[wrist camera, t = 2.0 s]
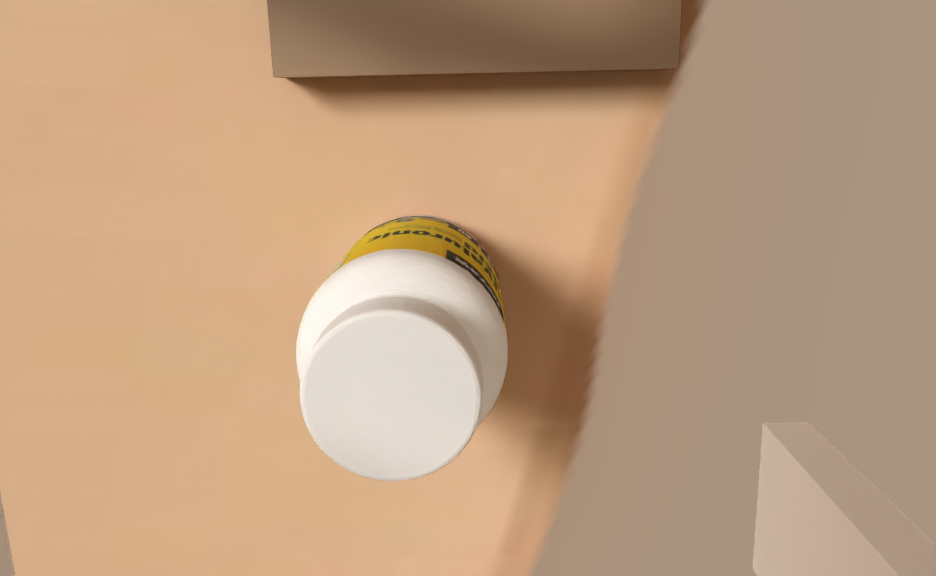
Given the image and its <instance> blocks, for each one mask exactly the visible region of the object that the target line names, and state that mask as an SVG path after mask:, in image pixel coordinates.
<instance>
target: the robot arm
mask: <svg viewBox="0 0 936 576" xmlns="http://www.w3.org/2000/svg"><path fill="white" fill-rule="evenodd" d="M757 497H758V498H757V510H756V524H755V538H754V552H753V566H752V568H753V570H754V572H755V574H756V575H757V576H936V545H935V544H934V543H933V542H932V541H931V540H930V539H929V538H928V537H927V536H926V535H925V534H924V533H923V532H922V531H921V530H920V529H919V528H918V527H917V526H916V525H915V524H914V523H913V522H912V521H911V520H910V519H909V518H907V517H906V516H905V515H904V514H903V513H902V512H901V511H900V510H899V509H898V508H897V507H896V506H895V505H894V504H893V503H892V502H891V501H890V500H889V499H888V498H887V497H886V496H885V495H884V494H883V493H882V492H881V491H879V489H878V488H876V487H875V486H874V485H873V484H872V483H871V482H870V481H869V480H868V479H867V478H866V477H865V476H864V475H863V474H862V473H861V472H860V471H859V470H858V469H857V468H856V467H855V466H854V465H853V464H852V463H851V462H850V461H849V460H848V459H846V458H845V457H844V456H843V455H842V454H841V453H840V452H839V451H838V450H837V449H836V448H835V447H834V446H833V445H832V444H831V443H830V442H829V441H828V440H827V439H826V438H825V437H824V436H823V435H822V434H821V433H820V432H819V431H817V429H815V428H814V427H813V426H812V425H811V424H810V423H809V422H770V423H763V428H762V441H761V456H760V469H759V483H758V496H757ZM0 576H15V573H14V567H13V561H12V556H11V550H10V544H9V539H8V533H7V527H6V522H5V516H4V510H3V505H2V499H1V493H0Z"/></svg>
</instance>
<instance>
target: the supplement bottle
mask: <svg viewBox="0 0 936 576" xmlns="http://www.w3.org/2000/svg"><path fill="white" fill-rule="evenodd" d="M296 362H297V369H298V375H299V379H300V382H301V385H300V401H301V409H302V413H303V417H304V420H305V423H306V425H307V428H308V430H309V432H310V434H311V435H312V437H313V439H314V440H315V442H316V443H317V445H318V446H319V447H320V448H321V449H322V451H323V452H324V453H326V454H327V455H328V456H329V457H330V458H331V459H332V460H333V461H335V462H336V463H337V464H339V465H340V466H342V467H344V468H345V469H347V470H349V471H351V472H353V473H355V474H358V475H361V476H363V477H366V478H370V479H375V480H381V481H403V480H411V479H416V478H419V477H422V476H425V475H428V474H430V473H433V472H435V471H437V470H439V469H441V468H442V467H444V466H445V465H447V464H448V463H450V462H451V461H452V460H453V459H454V458H455V457H457V456H458V455H459V454H460V453H461V451H462V450H463V449H464V448H465V446H466V445H467V444H468V442H469V441H470V439H471V437H472V435H473V434H474V432H475V429H476V427H477V426H478V425H479V424H480V423H481V422H482V421H483V420H484V419H485V417H486V416H487V415H488V413H489V412H490V411H491V409H492V407H493V406H494V404H495V402H496V400H497V398H498V396H499V393H500V391H501V388H502V385H503V382H504V379H505V375H506V369H507V362H508V340H507V329H506V323H505V315H504V308H503V302H502V296H501V287H500V282H499V278H498V275H497V272H496V269H495V266H494V264H493V262H492V260H491V258H490V256H489V255H488V253H487V251H486V250H485V249H484V247H483V246H482V245H481V244H480V243H479V241H478V240H477V239H476V238H475V237H474V236H473V235H471V234H470V233H469V232H467V231H466V230H465V229H463V228H462V227H460V226H458V225H456V224H454V223H452V222H450V221H448V220H445V219H442V218H438V217H434V216H427V215H409V216H403V217H398V218H394V219H391V220H388V221H386V222H384V223H382V224H380V225H378V226H376V227H375V228H373V229H372V230H370V231H369V232H368V233H366V234H365V235H364V236H363V237H362V238H361V239H360V240H359V241H358V242H357V243H356V244H355V245H354V246H353V247H352V248H351V249H350V251H349V252H348V253H347V254H346V255H345V256H344V258H343V259H342V260H341V261H340V263H339V264H338V265H337V266H336V267H335V268H334V270H333V271H332V272H331V274H330V275H329V276H328V277H327V278H326V279H325V281H324V282H323V283H322V284H321V285H320V287H319V288H318V289H317V291H316V292H315V294H314V295H313V297H312V299H311V301H310V303H309V304H308V306H307V308H306V310H305V313H304V315H303V318H302V321H301V325H300V328H299V332H298V337H297V344H296Z"/></svg>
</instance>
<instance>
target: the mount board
mask: <svg viewBox="0 0 936 576" xmlns="http://www.w3.org/2000/svg"><path fill="white" fill-rule="evenodd" d="M681 2H682V0H267V5H268V17H269V30H270V42H271V55H272V68H273V77H278V78H308V77H354V76H400V75H446V74H492V73H537V72H583V71H629V70H668V69H677V68H679V48H680V25H681Z"/></svg>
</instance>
